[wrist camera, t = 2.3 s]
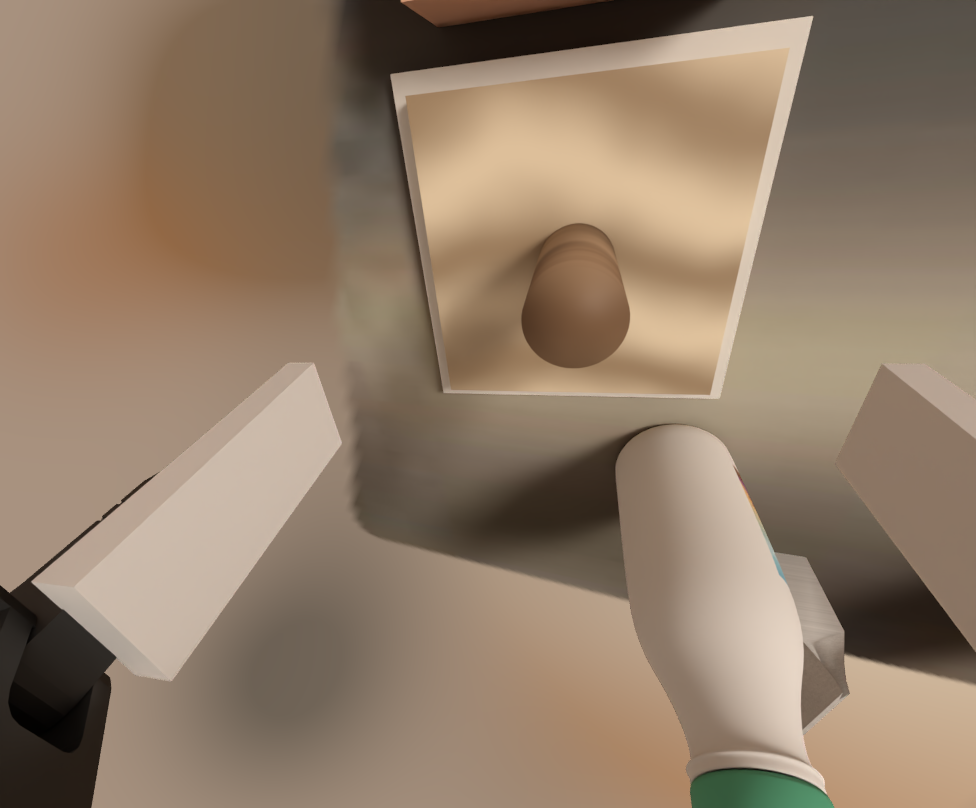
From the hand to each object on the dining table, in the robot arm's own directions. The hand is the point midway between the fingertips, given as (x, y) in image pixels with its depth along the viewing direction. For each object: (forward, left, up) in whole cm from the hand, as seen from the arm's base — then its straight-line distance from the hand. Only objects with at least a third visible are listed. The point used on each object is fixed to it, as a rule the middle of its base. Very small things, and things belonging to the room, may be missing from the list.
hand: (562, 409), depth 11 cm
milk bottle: (-15, -7, -16) cm, 23 cm away
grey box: (-27, -16, -16) cm, 36 cm away
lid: (0, 0, -16) cm, 16 cm away
